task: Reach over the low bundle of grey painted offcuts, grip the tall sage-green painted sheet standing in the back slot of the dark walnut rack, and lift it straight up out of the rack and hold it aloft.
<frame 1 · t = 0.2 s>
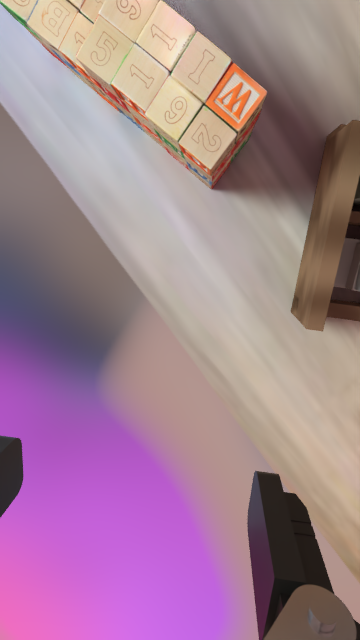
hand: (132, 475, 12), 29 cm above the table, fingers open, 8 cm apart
stack of blocks: (150, 97, 35), on the table
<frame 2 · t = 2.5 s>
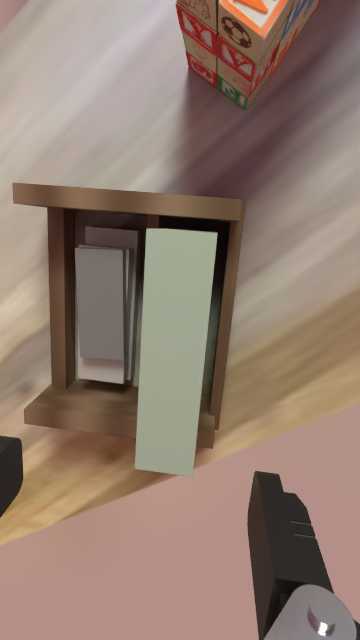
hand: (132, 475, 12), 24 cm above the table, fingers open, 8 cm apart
tall sheet: (189, 311, 35), resting in rack
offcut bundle: (115, 303, 36), resting in rack
rack: (141, 307, 35), on the table
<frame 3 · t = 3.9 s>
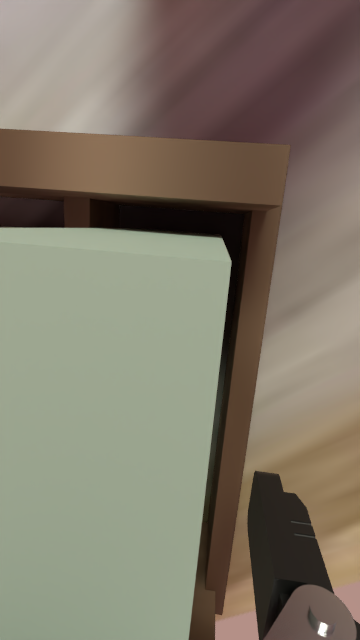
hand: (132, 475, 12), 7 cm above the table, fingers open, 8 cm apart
tall sheet: (168, 381, 19), resting in rack
rack: (80, 371, 19), on the table
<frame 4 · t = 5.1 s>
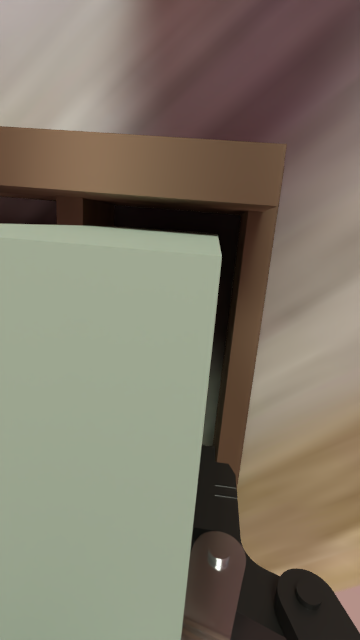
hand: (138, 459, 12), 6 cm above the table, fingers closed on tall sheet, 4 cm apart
tall sheet: (164, 383, 18), resting in rack, touching gripper
rack: (74, 374, 19), on the table
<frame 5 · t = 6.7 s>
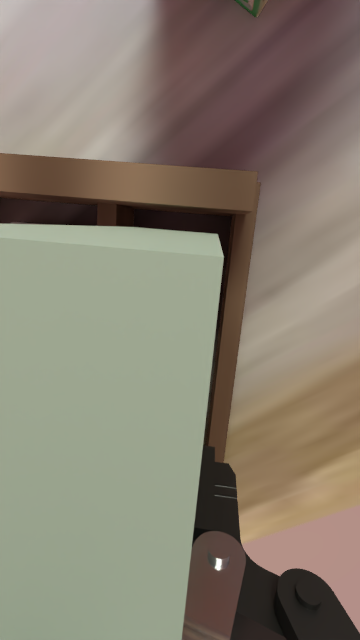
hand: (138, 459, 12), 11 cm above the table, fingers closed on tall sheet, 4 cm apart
tall sheet: (164, 383, 18), point 5 cm above the table, touching gripper
rack: (100, 342, 24), on the table
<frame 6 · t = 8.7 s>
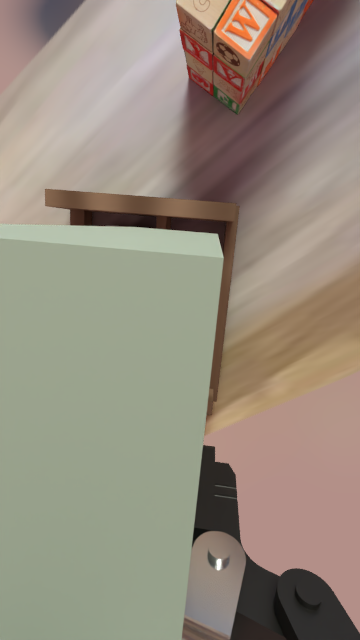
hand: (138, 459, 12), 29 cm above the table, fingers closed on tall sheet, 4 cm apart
tall sheet: (164, 383, 18), point 22 cm above the table, touching gripper
rack: (149, 295, 40), on the table
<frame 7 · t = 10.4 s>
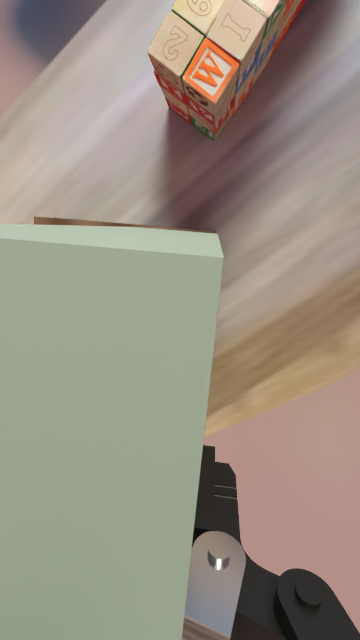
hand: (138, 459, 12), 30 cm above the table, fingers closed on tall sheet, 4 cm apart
tall sheet: (164, 383, 18), point 24 cm above the table, touching gripper
stack of blocks: (253, 27, 34), on the table
rack: (134, 312, 43), on the table
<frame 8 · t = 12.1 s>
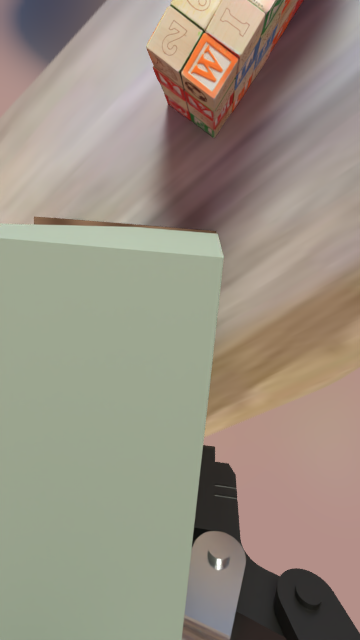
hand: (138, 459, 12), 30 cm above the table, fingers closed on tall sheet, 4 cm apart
tall sheet: (164, 383, 18), point 24 cm above the table, touching gripper
stack of blocks: (253, 23, 34), on the table
rack: (134, 312, 43), on the table
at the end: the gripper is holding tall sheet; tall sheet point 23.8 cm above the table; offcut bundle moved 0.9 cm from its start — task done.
